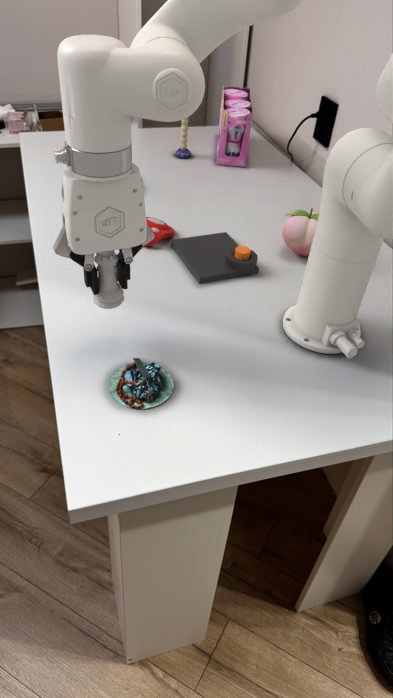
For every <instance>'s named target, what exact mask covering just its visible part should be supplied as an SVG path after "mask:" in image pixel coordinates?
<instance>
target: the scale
mask: <svg viewBox="0 0 393 698" xmlns="http://www.w3.org/2000/svg"><path fill="white" fill-rule="evenodd" d="M238 246H240V245H239V244H238V243H237V242H236V240H234V239H233V238H232V237H231V236H230V234H228V232H227V231H224V232H217V233H209V234H202V235H195V236H194V235H193V236H188V237H181V238H173V239H171V240H170V247H171V248H172V249H173V251H174V252H175V253H176V255H177V256H178V257H179V259H180V260H181V261H182V263H183V264H184V266H185V267H186V268H187V270H188V271H189V272H190V274H191V275H192V277H193V279H195V281H196V282H197V283H198V284H199V285H200V284H207V283H212V282H219V281H224V280H225V281H226V280H230V279H235V278H241V277H248V276H253V275H258V274H259V269H260V267H259V266H258V257H259V256H258V254H257V253H256V252H255V251H254V250H253V249H250V250H251V252H250V258H249V259H248V260H239V259H237V258H235V249H236V247H238Z"/></svg>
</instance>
